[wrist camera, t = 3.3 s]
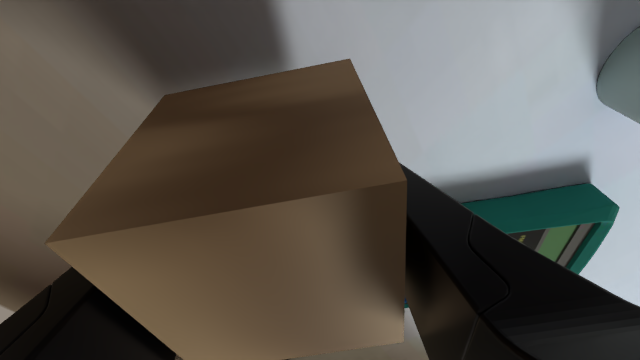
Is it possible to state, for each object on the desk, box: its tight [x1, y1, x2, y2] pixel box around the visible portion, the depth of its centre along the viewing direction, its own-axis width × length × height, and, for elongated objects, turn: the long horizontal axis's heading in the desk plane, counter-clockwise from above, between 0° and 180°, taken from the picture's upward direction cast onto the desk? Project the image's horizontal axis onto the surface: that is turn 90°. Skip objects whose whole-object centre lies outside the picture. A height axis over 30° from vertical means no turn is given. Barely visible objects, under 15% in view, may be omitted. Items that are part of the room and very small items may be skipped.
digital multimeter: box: [404, 184, 619, 308], centre depth 18 cm, size 7×15×3 cm, turn 97°
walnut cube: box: [45, 59, 407, 360], centre depth 8 cm, size 5×5×5 cm
